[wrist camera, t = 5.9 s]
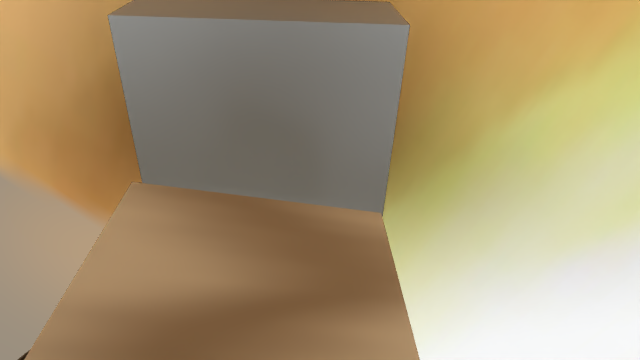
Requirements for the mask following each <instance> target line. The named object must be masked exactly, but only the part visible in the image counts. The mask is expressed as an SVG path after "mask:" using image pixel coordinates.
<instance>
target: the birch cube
mask: <svg viewBox="0 0 640 360" xmlns="http://www.w3.org/2000/svg"><path fill="white" fill-rule="evenodd" d="M24 360H420V359H419V355H418V351H417V348H416V344H415V340H414V336H413V332H412V329H411V325H410V321H409V317H408V314H407V310H406V306H405V302H404V298H403V295H402V291H401V287H400V283H399V279H398V276H397V272H396V268H395V264H394V261H393V257H392V253H391V249H390V245H389V242H388V238H387V234H386V230H385V226H384V223H383V219H382V215H381V213H378V212H370V211H362V210H354V209H346V208H338V207H330V206H322V205H314V204H306V203H298V202H290V201H282V200H274V199H266V198H258V197H250V196H242V195H234V194H226V193H218V192H210V191H202V190H194V189H186V188H178V187H170V186H162V185H154V184H146V183H138V182H132V183H131V184H130V186H129V188H128V189H127V191H126V193H125V194H124V196H123V198H122V199H121V201H120V203H119V204H118V206H117V208H116V209H115V211H114V213H113V214H112V216H111V217H110V219H109V221H108V222H107V224H106V226H105V227H104V229H103V231H102V232H101V234H100V236H99V237H98V239H97V241H96V242H95V244H94V246H93V247H92V249H91V250H90V252H89V254H88V256H87V257H86V259H85V261H84V262H83V264H82V266H81V267H80V269H79V270H78V272H77V274H76V275H75V277H74V279H73V280H72V282H71V283H70V285H69V287H68V288H67V290H66V292H65V294H64V295H63V297H62V298H61V300H60V302H59V303H58V305H57V307H56V309H55V310H54V312H53V313H52V315H51V317H50V318H49V320H48V321H47V323H46V325H45V326H44V328H43V330H42V331H41V333H40V335H39V337H38V338H37V340H36V341H35V343H34V345H33V346H32V348H31V350H30V351H29V353H28V354H27V356H26V358H25V359H24Z"/></svg>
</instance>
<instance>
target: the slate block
mask: <svg viewBox="0 0 640 360" xmlns="http://www.w3.org/2000/svg"><path fill="white" fill-rule="evenodd" d="M108 19H109V24H110V29H111V34H112V38H113V43H114V48H115V53H116V58H117V63H118V67H119V72H120V77H121V82H122V87H123V92H124V96H125V101H126V106H127V111H128V116H129V121H130V125H131V130H132V135H133V140H134V145H135V150H136V154H137V159H138V164H139V169H140V174H141V179H142V183H146V184H154V185H162V186H170V187H178V188H186V189H194V190H202V191H210V192H218V193H226V194H234V195H242V196H250V197H258V198H266V199H274V200H282V201H290V202H298V203H306V204H314V205H322V206H330V207H338V208H346V209H354V210H362V211H370V212H378V213H381V215H382V216H383V209H384V202H385V195H386V188H387V181H388V174H389V167H390V160H391V153H392V146H393V139H394V132H395V125H396V119H397V112H398V105H399V98H400V91H401V84H402V77H403V70H404V63H405V56H406V49H407V42H408V35H409V28H410V25H409V24H408V22H407V21H406V20H405V19H404V18H403V17H402V16H401V15H400V13H399V12H398V11H397V10H396V9H395V8H394V7H393V6H392V4H391V3H390V2H376V1H348V0H133V1H131V2H129V3H128V4H126V5H124V6H123V7H121V8H119V9H118V10H116V11H114V12H112V13H111V14H109V15H108Z"/></svg>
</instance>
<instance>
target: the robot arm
mask: <svg viewBox="0 0 640 360" xmlns="http://www.w3.org/2000/svg"><path fill="white" fill-rule="evenodd" d="M30 350H31V349H30ZM30 350H29V351H30ZM29 351H28V352H27V353H25V354H24V355H23V356H22V357H20V358H19V359H18V360H24V359H25V358H26V356H27V354H28V353H29Z"/></svg>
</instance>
